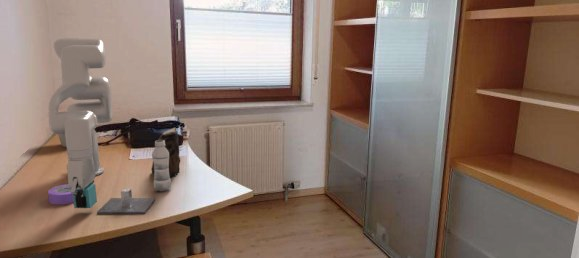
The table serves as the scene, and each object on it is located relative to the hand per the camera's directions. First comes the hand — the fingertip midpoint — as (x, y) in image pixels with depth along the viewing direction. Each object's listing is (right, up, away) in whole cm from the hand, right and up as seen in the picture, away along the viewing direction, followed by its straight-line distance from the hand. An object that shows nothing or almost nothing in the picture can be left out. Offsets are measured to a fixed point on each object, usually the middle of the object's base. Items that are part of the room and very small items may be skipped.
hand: (85, 203), depth 137 cm
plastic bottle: (+20, +1, +21) cm, 29 cm away
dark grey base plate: (+12, -2, +5) cm, 13 cm away
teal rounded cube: (0, -1, 0) cm, 1 cm away
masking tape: (-13, -1, +12) cm, 18 cm away
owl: (+15, +5, +41) cm, 44 cm away
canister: (-48, +16, +83) cm, 98 cm away
